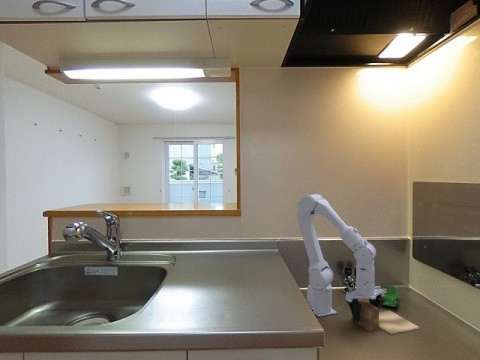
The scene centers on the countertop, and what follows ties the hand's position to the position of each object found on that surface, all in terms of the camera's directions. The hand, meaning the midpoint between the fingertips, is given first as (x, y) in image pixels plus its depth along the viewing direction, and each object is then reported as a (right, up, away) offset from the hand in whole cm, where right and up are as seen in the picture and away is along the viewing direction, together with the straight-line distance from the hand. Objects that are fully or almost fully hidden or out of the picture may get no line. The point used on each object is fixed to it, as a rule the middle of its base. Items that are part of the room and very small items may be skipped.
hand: (365, 318), depth 95 cm
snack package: (+17, -2, +17) cm, 24 cm away
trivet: (+9, -2, +1) cm, 9 cm away
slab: (0, -2, 0) cm, 2 cm away
